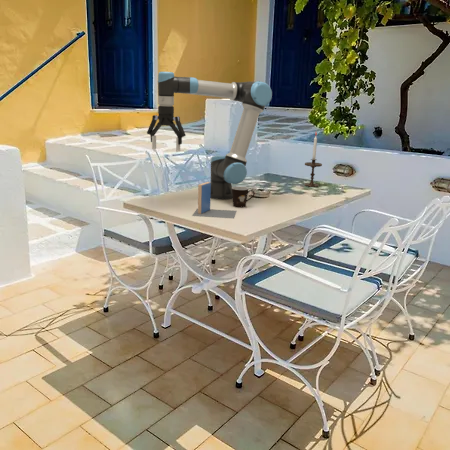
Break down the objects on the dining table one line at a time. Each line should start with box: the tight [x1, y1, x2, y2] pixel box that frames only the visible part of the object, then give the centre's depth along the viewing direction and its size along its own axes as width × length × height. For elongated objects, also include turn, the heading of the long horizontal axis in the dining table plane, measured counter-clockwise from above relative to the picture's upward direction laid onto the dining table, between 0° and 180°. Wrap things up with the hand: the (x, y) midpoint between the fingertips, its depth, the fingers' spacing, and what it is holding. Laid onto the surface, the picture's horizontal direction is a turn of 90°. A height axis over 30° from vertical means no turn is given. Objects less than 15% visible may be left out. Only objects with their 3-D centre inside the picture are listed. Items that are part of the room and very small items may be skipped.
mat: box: [191, 208, 237, 219], centre depth 226 cm, size 14×20×1 cm
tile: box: [197, 181, 211, 214], centre depth 227 cm, size 9×2×14 cm, turn 154°
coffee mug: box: [231, 186, 255, 209], centre depth 240 cm, size 12×9×10 cm
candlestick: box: [304, 131, 323, 188], centre depth 298 cm, size 11×11×35 cm
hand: (166, 150), depth 230 cm, fingers open, 13 cm apart
